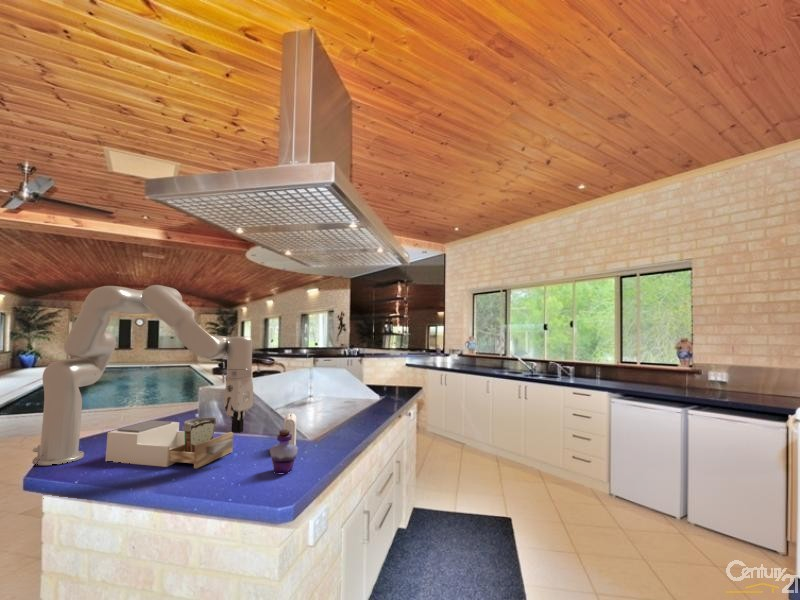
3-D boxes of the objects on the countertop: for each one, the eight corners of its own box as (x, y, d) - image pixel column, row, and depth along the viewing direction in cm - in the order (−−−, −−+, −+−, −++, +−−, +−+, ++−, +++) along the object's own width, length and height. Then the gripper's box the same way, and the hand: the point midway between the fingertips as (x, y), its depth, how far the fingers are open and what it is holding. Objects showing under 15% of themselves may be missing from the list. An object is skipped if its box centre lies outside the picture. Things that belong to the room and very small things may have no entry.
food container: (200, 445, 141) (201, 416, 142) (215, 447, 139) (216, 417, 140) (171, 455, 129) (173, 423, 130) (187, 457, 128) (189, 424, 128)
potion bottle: (288, 465, 130) (289, 426, 131) (303, 471, 124) (304, 431, 125) (262, 471, 124) (264, 430, 125) (277, 478, 118) (279, 435, 119)
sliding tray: (239, 452, 141) (240, 432, 142) (204, 469, 123) (205, 446, 124) (201, 449, 144) (203, 429, 145) (162, 465, 126) (164, 443, 127)
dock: (205, 450, 144) (207, 422, 145) (166, 466, 126) (168, 434, 127) (150, 446, 148) (152, 418, 149) (105, 461, 130) (107, 430, 131)
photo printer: (294, 452, 143) (296, 416, 144) (281, 453, 142) (283, 416, 143) (296, 445, 153) (297, 411, 154) (284, 445, 152) (285, 411, 154)
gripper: (236, 377, 126) (234, 438, 124) (261, 372, 141) (260, 427, 139) (214, 376, 127) (212, 437, 126) (241, 372, 142) (239, 426, 140)
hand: (237, 431), depth 132 cm, fingers closed
